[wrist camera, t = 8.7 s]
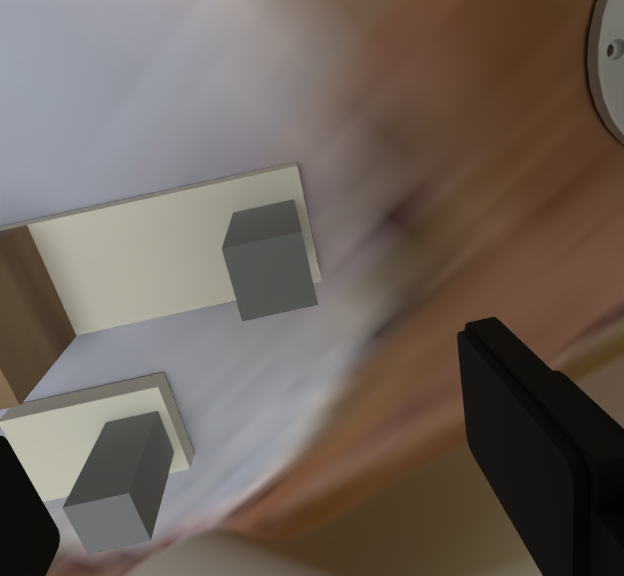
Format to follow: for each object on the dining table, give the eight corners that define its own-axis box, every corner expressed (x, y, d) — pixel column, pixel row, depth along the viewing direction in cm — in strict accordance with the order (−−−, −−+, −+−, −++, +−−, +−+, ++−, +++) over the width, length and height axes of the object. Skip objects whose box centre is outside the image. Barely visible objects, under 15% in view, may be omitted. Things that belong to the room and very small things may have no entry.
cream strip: (295, 161, 24) (306, 187, 17) (318, 271, 26) (337, 335, 19) (-97, 247, 24) (-250, 310, 17) (-39, 350, 26) (-152, 443, 19)
